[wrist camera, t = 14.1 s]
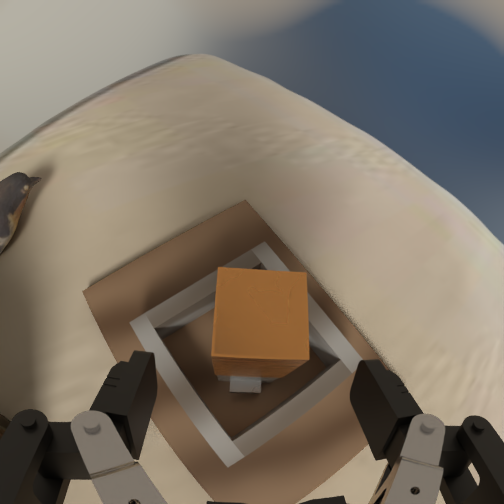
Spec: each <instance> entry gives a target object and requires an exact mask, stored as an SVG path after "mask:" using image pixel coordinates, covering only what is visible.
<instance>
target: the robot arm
mask: <svg viewBox="0 0 504 504" xmlns="http://www.w3.org/2000/svg"><path fill="white" fill-rule="evenodd" d="M157 388H158V385H157V374H156V364H155V355H154V353H153V352H146V351H138V350H134V352H133V353H132V355H131V357H130V360H129V362H125V361H120V362H119V363H117V364H116V365H115V366H113V367H112V368H111V370H110V372H109V374H108V376H107V378H106V379H105V381H104V383H103V385H102V387H101V389H100V391H99V393H98V394H97V396H96V398H95V400H94V402H93V404H92V406H91V408H90V410H89V411H85V412H82V413H80V414H78V415H76V416H75V417H74V419H73V420H72V422H48V420H47V417H46V416H45V415H44V414H43V413H42V412H40V411H38V410H33V409H28V410H23V411H21V412H19V413H18V414H16V415H15V416H14V418H13V419H12V421H11V422H10V424H9V426H8V427H7V429H6V431H5V432H4V434H3V436H2V438H1V439H0V504H63V502H64V499H65V496H66V493H67V489H68V486H69V483H70V480H71V479H80V480H92V482H93V484H94V486H95V488H96V490H97V492H98V494H99V496H100V498H101V500H102V502H103V504H167V502H166V501H165V500H164V498H163V497H162V495H161V494H160V493H159V491H158V490H157V488H156V487H155V486H154V484H153V483H152V481H151V480H150V478H149V477H148V475H147V474H146V472H145V471H144V469H143V468H142V466H141V465H140V464H139V463H138V462H135V461H134V459H136V460H139V457H140V453H141V450H142V446H143V442H144V439H145V435H146V432H147V428H148V425H149V421H150V418H151V414H152V411H153V407H154V404H155V401H156V397H157ZM350 402H351V405H352V407H353V409H354V412H355V414H356V416H357V419H358V421H359V423H360V425H361V428H362V430H363V432H364V435H365V437H366V439H367V442H368V444H369V446H370V449H371V451H372V453H373V456H374V458H375V460H381V459H386V458H387V461H388V463H387V465H386V467H385V469H384V471H383V474H382V476H381V478H380V480H379V483H378V485H377V487H376V489H375V491H374V493H373V496H372V498H371V500H370V501H369V503H368V504H435V503H436V500H437V496H438V492H439V489H440V491H441V494H442V496H443V498H444V500H445V503H446V504H504V442H503V441H502V439H501V438H500V437H499V435H498V434H497V432H496V431H495V430H494V428H493V427H492V425H491V424H490V423H489V422H488V421H487V420H486V419H485V418H483V417H480V416H469V417H467V418H466V419H465V420H464V421H463V423H462V425H461V426H445V425H444V423H443V422H442V421H441V420H440V419H439V418H438V417H436V416H434V415H431V414H424V413H423V412H422V410H421V409H420V407H419V406H418V404H417V403H416V401H415V400H414V398H413V397H412V395H411V394H410V393H408V390H407V388H406V387H405V386H404V384H403V382H402V381H401V379H400V378H399V377H398V376H397V375H396V374H394V373H393V372H392V371H390V370H386V369H385V367H384V366H383V364H382V363H381V361H380V360H379V359H371V360H361V361H360V362H359V363H358V366H357V370H356V373H355V376H354V379H353V383H352V386H351V389H350ZM471 463H472V464H473V465H474V467H475V469H476V471H477V472H478V474H479V477H480V483H479V485H477V484H476V482H475V480H474V478H473V476H472V474H471V473H470V471H469V469H468V467H469V465H470V464H471ZM207 504H246V503H234V502H212V501H207ZM300 504H346V501H345V498H344V496H337V497H330V498H322V499H313V500H309V501H306V502H303V503H300Z"/></svg>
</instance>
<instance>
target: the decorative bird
mask: <svg viewBox="0 0 504 504" xmlns="http://www.w3.org/2000/svg"><path fill="white" fill-rule="evenodd" d="M40 180H41V178H39V177H30V178H29V177H28V176H27V175H26V174H24V173H20V172H17V173H14V174H12V175H10V176H9V177H7V178H5V179H3V180H2V181H1V182H0V253H1V252H2V251H3V250H4V248H5V247H6V245H7V244H8V242H9V241H10V239H11V238H12V236H13V234H14V232H15V229H16V227H17V224H18V221H19V217H20V215H21V212H22V209H23V207H24V205H25V202H26V200H27V198H28V194H29V191H30V190H31V188H32V186H34V185H35V184H36V183H37V182H39V181H40Z"/></svg>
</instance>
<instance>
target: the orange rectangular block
mask: <svg viewBox="0 0 504 504" xmlns="http://www.w3.org/2000/svg"><path fill="white" fill-rule="evenodd" d="M211 358H212V362H213V367H214V372H215V375H217V376H218V381H230V391H229V393H248V394H259V393H261V383H271V382H273V381H274V380H276V379H277V378H283V377H284V376H286V375H287V374H289V373H290V372H292V371H293V370H295V369H296V368H298V367H299V366H301V365H302V364H304V363H305V362H307V361H308V360H309V321H308V295H307V274H306V272H290V271H273V270H257V269H242V268H227V267H218V273H217V284H216V297H215V309H214V322H213V336H212V351H211Z"/></svg>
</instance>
